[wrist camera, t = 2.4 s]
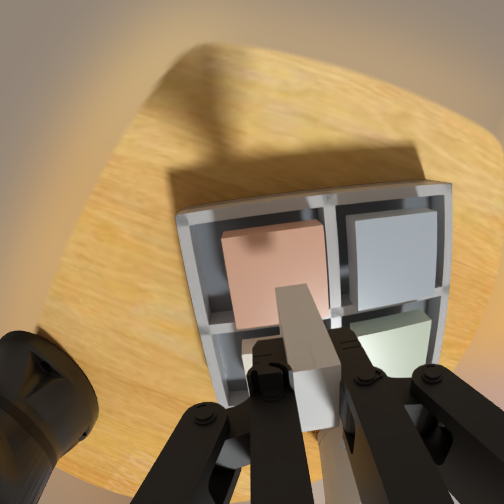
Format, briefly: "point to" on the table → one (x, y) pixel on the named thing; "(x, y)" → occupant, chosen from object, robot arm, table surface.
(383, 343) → the key sage
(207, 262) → the keypad base
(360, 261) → the key slate
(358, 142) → the table surface
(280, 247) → the key terracotta
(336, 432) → the cup
